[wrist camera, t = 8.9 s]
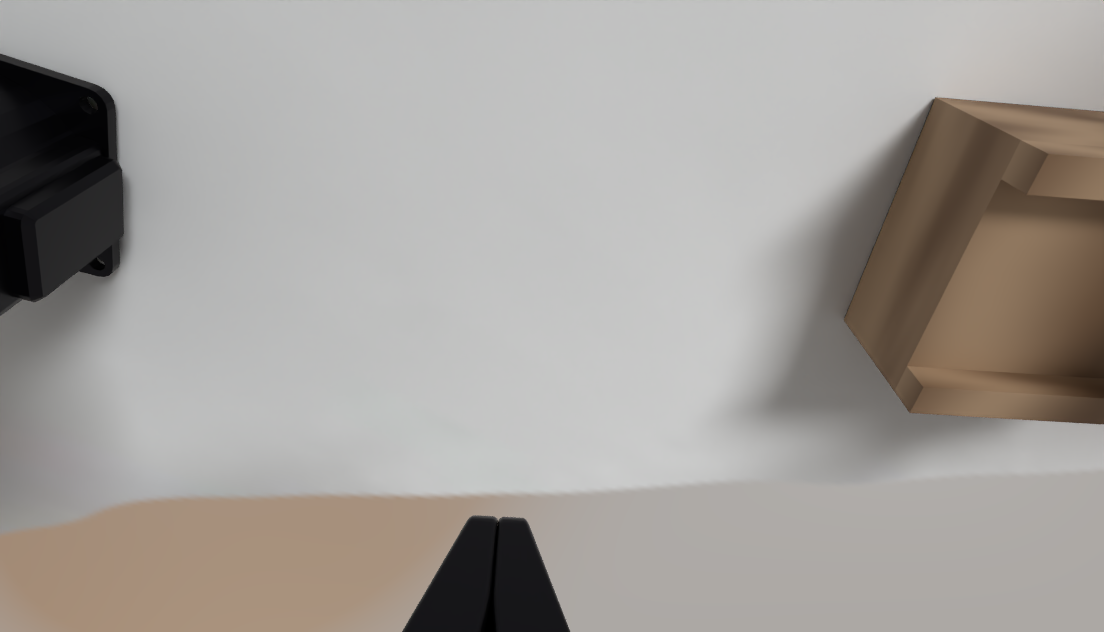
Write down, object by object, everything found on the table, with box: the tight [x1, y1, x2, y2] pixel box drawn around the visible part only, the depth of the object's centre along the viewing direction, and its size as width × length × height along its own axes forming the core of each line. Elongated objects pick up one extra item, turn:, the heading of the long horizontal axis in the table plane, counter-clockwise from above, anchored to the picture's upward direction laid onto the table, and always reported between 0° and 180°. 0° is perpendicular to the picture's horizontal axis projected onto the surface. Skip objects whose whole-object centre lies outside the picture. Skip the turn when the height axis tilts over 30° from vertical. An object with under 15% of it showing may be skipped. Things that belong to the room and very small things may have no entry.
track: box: [844, 97, 1104, 424], centre depth 19 cm, size 10×8×5 cm
